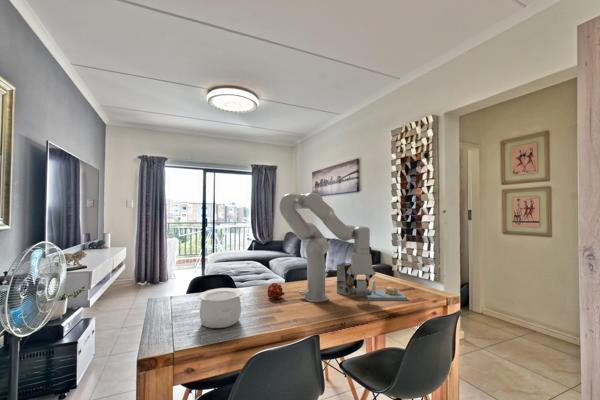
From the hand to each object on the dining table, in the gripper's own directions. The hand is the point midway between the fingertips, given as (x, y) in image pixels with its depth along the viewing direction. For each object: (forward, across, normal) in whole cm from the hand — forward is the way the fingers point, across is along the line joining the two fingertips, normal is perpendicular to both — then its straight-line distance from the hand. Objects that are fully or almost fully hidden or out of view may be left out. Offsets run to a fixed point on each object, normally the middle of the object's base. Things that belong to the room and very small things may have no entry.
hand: (360, 287), depth 142 cm
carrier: (+8, +15, +13) cm, 21 cm away
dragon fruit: (+10, -44, +9) cm, 46 cm away
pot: (+10, -63, -25) cm, 69 cm away
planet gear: (+3, 0, 0) cm, 3 cm away
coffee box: (+9, -5, +20) cm, 22 cm away
